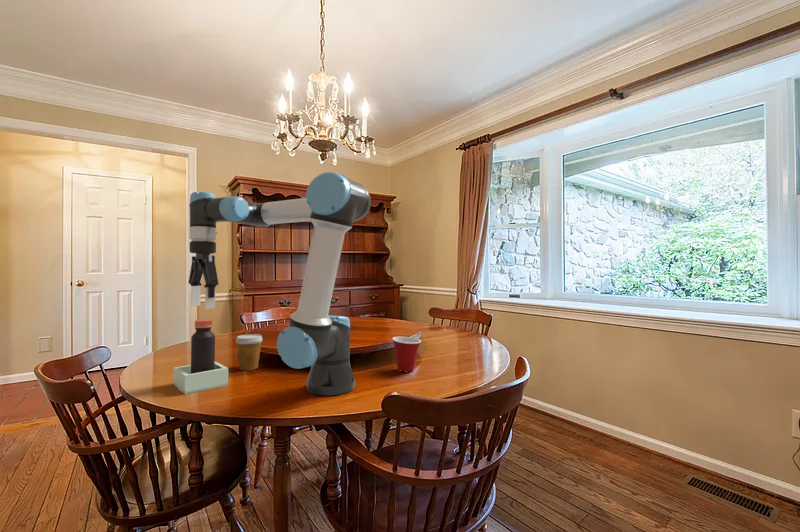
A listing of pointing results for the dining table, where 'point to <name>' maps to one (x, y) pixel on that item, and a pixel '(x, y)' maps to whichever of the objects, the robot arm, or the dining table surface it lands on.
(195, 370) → the vinegar
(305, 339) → the robot arm
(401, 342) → the plastic cup
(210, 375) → the open rectangular box
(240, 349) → the disposable coffee cup
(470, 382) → the dining table surface
